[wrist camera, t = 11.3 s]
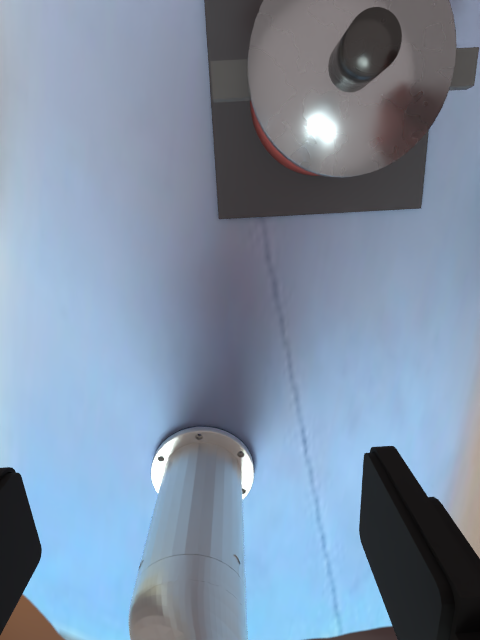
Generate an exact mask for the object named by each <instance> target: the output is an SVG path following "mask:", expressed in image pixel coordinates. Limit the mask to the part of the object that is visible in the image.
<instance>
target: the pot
mask: <svg viewBox="0 0 480 640" xmlns="http://www.w3.org/2000/svg"><path fill="white" fill-rule="evenodd" d="M478 50H479V47H473V48H456V58H455V66H454V72H453V77H452V81H451V84H450V88H449V90H466V89H468V88H470V87H472V86H474V82H475V74H476V66H477V58H478ZM210 62H211V77H212V93H213V102H214V103H218V102H237V101H250V107H251V115H252V120H253V124H254V127H255V130H256V133H257V135H258V137H259V139H260V141H261V143H262V144H263V146H264V147H265V149H266V150H267V151H268V152H269V153H270V155H271V156H272V157H273V158H274V159H275V160H277V161H278V162H279V163H280V164H282V165H283V166H285V167H286V168H288V169H290V170H292V171H294V172H298V173H301V174H305V175H311V176H322V175H317V174H314V173H311V172H308V171H306V170H304V169H302V168H300V167H298V166H296V165H295V164H293V163H292V162H290V161H289V160H287V159H286V158H285V157H284V156H283V155H282V154H281V153H280V152H279V151H277V150H276V148H275V147H274V146H273V145H272V143H271V142H270V141H269V140H268V138H267V137H266V135H265V133H264V132H263V130H262V129H261V126H260V124H259V122H258V120H257V118H256V115H255V112H254V109H253V106H252V103H251V98H250V93H249V87H248V75H247V70H248V59H241V60H222V61H210Z"/></svg>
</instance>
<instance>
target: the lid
mask: <svg viewBox="0 0 480 640" xmlns="http://www.w3.org/2000/svg"><path fill="white" fill-rule="evenodd" d="M455 58H456V30H455V24H454V17H453V13H452V9H451V6H450V2H449V0H263V2H262V4H261V7H260V9H259V12H258V14H257V17H256V19H255V23H254V27H253V30H252V34H251V39H250V46H249V53H248V70H247V75H248V87H249V93H250V98H251V103H252V106H253V109H254V112H255V115H256V118H257V120H258V122H259V124H260V126H261V129H262V130H263V132H264V133H265V135H266V137H267V138H268V140H269V141H270V142H271V143H272V145H273V146H274V147H275V148H276V150H277V151H279V152H280V153H281V154H282V155H283V156H284V157H285V158H286V159H287V160H289V161H290V162H292V163H293V164H295V165H296V166H298V167H300V168H302V169H304V170H306V171H308V172H311V173H314V174H317V175H322V176H327V177H341V178H343V177H352V176H358V175H362V174H367V173H371V172H373V171H376V170H379V169H381V168H384V167H385V166H387V165H389V164H391V163H393V162H395V161H396V160H397V159H399V158H400V157H402V156H403V155H404V154H406V153H407V152H408V151H409V150H410V149H411V148H413V147H414V146H415V145H416V144H417V143H418V142H419V141H420V139H421V138H422V137H423V136H424V135H425V134H426V132H427V131H428V130H429V128H430V127H431V125H432V124H433V122H434V121H435V119H436V117H437V116H438V114H439V112H440V110H441V108H442V106H443V104H444V101H445V99H446V96H447V94H448V91H449V88H450V84H451V81H452V77H453V72H454V66H455Z"/></svg>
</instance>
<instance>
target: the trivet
mask: <svg viewBox="0 0 480 640" xmlns="http://www.w3.org/2000/svg"><path fill="white" fill-rule="evenodd" d="M204 1H205V16H206V32H207V47H208V62H209V77H210V92H211V107H212V123H213V138H214V153H215V168H216V183H217V198H218V213H219V219H231V218H250V217H269V216H288V215H306V214H325V213H344V212H362V211H381V210H400V209H418V208H421V204H422V194H423V183H424V173H425V163H426V152H427V142H428V131H429V130H428V131H427V132H426V134H425V135H424V136H423V137H422V138H421V139H420V141H419V142H418V143H417V144H416V145H415V146H414V147H413V148H411V149H410V150H409V151H408V152H407V153H406V154H404V155H403V156H402V157H400V158H399V159H397V160H396V161H395V162H393V163H391V164H389V165H387V166H385V167H384V168H381V169H379V170H376V171H373V172H371V173H367V174H362V175H358V176H352V177H343V178H341V177H327V176H311V175H305V174H301V173H298V172H294V171H292V170H290V169H288V168H286V167H285V166H283V165H282V164H280V163H279V162H278V161H277V160H275V159H274V158H273V157H272V156H271V155H270V153H269V152H268V151H267V150H266V149H265V147H264V146H263V144H262V143H261V141H260V139H259V137H258V135H257V133H256V130H255V127H254V124H253V120H252V115H251V107H250V101H237V102H218V103H214V102H213V93H212V77H211V62H210V61H222V60H241V59H248V53H249V46H250V39H251V34H252V30H253V27H254V23H255V19H256V17H257V14H258V12H259V9H260V7H261V4H262V2H263V0H204Z"/></svg>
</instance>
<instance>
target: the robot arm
mask: <svg viewBox="0 0 480 640" xmlns="http://www.w3.org/2000/svg"><path fill="white" fill-rule="evenodd" d="M151 477H152V483H153V485H154V488H155V490H156V491H157V493H158V495H157V499H156V503H155V507H154V511H153V515H152V519H151V523H150V527H149V531H148V535H147V539H146V543H145V547H144V551H143V555H142V559H141V562H140V566H139V570H138V574H137V578H136V583H135V586H134V590H133V594H132V598H131V602H130V609H129V633H130V639H131V640H248V633H247V613H246V583H245V555H244V527H243V499H244V498H245V497H246V496H247V494H248V493H249V491H250V489H251V487H252V484H253V481H254V464H253V460H252V457H251V454H250V452H249V451H248V449H247V447H246V446H245V445H244V444H243V443H242V441H240V440H239V439H238V438H237V437H235V436H234V435H232V434H230V433H228V432H226V431H224V430H220V429H217V428H212V427H193V428H187V429H184V430H182V431H179V432H177V433H175V434H173V435H171V436H170V437H169V438H167V439H166V440H165V441H164V442H163V443H162V444H161V445H160V447H159V448H158V449H157V452H156V454H155V456H154V459H153V463H152V467H151ZM359 532H360V539H361V543H362V546H363V549H364V551H365V554H366V557H367V559H368V562H369V565H370V567H371V570H372V572H373V575H374V578H375V580H376V583H377V586H378V588H379V591H380V594H381V596H382V599H383V602H384V604H385V607H386V610H387V612H388V615H389V618H390V620H391V623H392V625H393V628H394V631H395V633H396V636H397V639H398V640H480V559H479V557H478V556H477V554H476V553H475V551H474V550H473V548H472V547H471V546H470V544H469V543H468V541H467V540H466V538H465V537H464V535H463V534H462V533H461V531H460V530H459V528H458V527H457V525H456V524H455V522H454V521H453V520H452V518H451V517H450V515H449V514H448V512H447V511H446V509H445V508H444V506H443V505H442V504H441V503H440V501H439V500H438V499H436V498H435V497H428V496H427V495H426V493H425V492H424V490H423V489H422V487H421V486H420V484H419V483H418V481H417V480H416V478H415V477H414V475H413V474H412V472H411V471H410V469H409V468H408V466H407V465H406V463H405V462H404V460H403V459H402V457H401V456H400V454H399V453H398V451H397V449H396V448H395V447H393V446H383V447H372V448H371V450H370V453H365V454H364V462H363V478H362V494H361V510H360V526H359ZM41 550H42V549H41V544H40V541H39V537H38V534H37V530H36V527H35V523H34V520H33V516H32V512H31V509H30V505H29V502H28V498H27V495H26V491H25V488H24V484H23V481H22V477H21V475H20V474H19V473H16V472H15V470H14V469H13V468H10V467H8V468H0V635H1V633H2V631H3V629H4V627H5V625H6V623H7V621H8V620H9V618H10V616H11V614H12V612H13V610H14V608H15V607H16V605H17V603H18V601H19V599H20V597H21V595H22V593H23V592H24V590H25V588H26V586H27V584H28V582H29V580H30V578H31V577H32V575H33V573H34V571H35V569H36V567H37V565H38V563H39V561H40V558H41Z"/></svg>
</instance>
